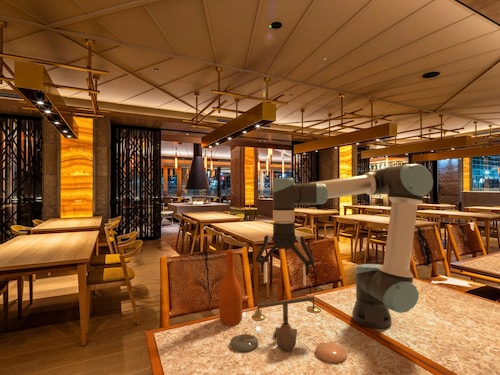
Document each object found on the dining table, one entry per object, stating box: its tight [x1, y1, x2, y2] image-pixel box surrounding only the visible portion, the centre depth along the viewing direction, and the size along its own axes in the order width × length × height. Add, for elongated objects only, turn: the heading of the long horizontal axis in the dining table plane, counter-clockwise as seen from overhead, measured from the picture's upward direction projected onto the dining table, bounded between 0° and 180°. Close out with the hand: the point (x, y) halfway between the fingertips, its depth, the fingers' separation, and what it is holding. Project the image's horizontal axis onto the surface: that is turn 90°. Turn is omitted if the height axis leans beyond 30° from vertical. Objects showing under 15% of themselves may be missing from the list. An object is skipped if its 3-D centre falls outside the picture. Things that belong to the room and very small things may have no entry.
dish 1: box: [229, 333, 259, 353], centre depth 100 cm, size 10×10×1 cm
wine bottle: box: [218, 249, 243, 326], centre depth 118 cm, size 10×10×30 cm
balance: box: [251, 296, 322, 339], centre depth 106 cm, size 26×5×15 cm, turn 77°
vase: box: [275, 321, 297, 353], centre depth 97 cm, size 7×7×9 cm
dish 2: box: [315, 342, 348, 364], centre depth 93 cm, size 10×10×1 cm
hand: (284, 283), depth 97 cm, fingers open, 13 cm apart
